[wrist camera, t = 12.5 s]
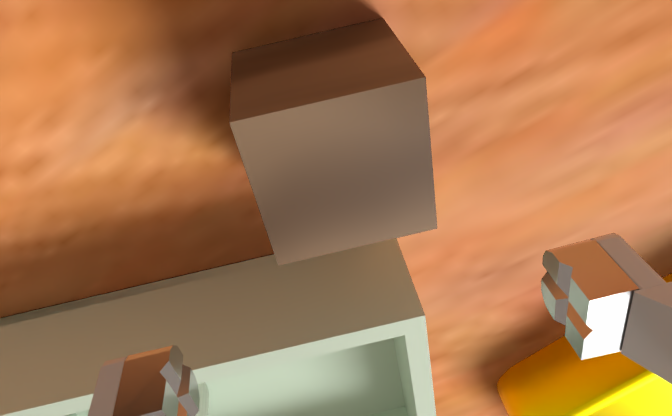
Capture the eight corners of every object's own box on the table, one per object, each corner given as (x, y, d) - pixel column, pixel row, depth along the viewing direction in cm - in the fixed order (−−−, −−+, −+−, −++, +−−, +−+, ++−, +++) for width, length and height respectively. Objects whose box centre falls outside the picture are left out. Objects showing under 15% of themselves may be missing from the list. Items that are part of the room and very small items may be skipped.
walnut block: (232, 51, 17) (229, 122, 13) (382, 16, 17) (425, 77, 13) (271, 177, 20) (278, 265, 16) (398, 147, 20) (437, 228, 16)
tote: (-16, 321, 22) (-72, 432, 18) (392, 226, 22) (425, 315, 18) (122, 473, 30) (103, 571, 26) (417, 402, 30) (444, 490, 26)
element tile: (786, 351, 34) (855, 418, 30) (581, 454, 38) (618, 524, 35) (731, 229, 26) (815, 299, 22) (480, 377, 31) (514, 456, 27)
